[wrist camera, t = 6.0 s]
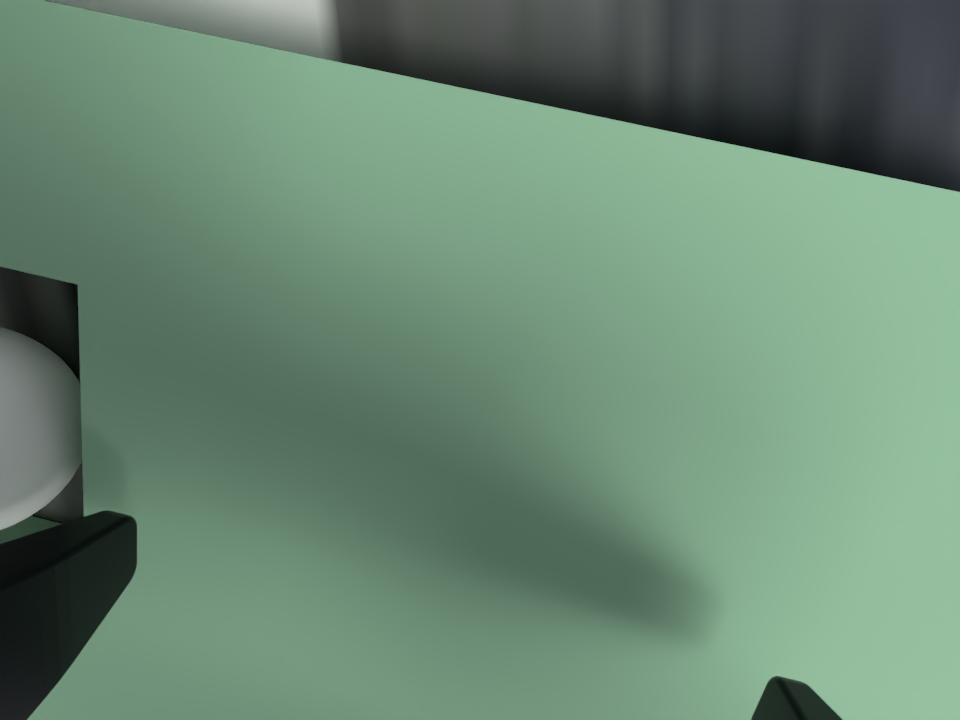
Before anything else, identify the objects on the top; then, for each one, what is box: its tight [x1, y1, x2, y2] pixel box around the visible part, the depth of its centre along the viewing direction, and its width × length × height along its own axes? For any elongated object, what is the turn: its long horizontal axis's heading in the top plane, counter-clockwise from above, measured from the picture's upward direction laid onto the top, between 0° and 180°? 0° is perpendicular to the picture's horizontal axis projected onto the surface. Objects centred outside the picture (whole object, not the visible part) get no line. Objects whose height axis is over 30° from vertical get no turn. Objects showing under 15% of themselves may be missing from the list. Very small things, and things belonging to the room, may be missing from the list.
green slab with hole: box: [0, 0, 960, 720], centre depth 9 cm, size 22×13×4 cm, turn 79°
